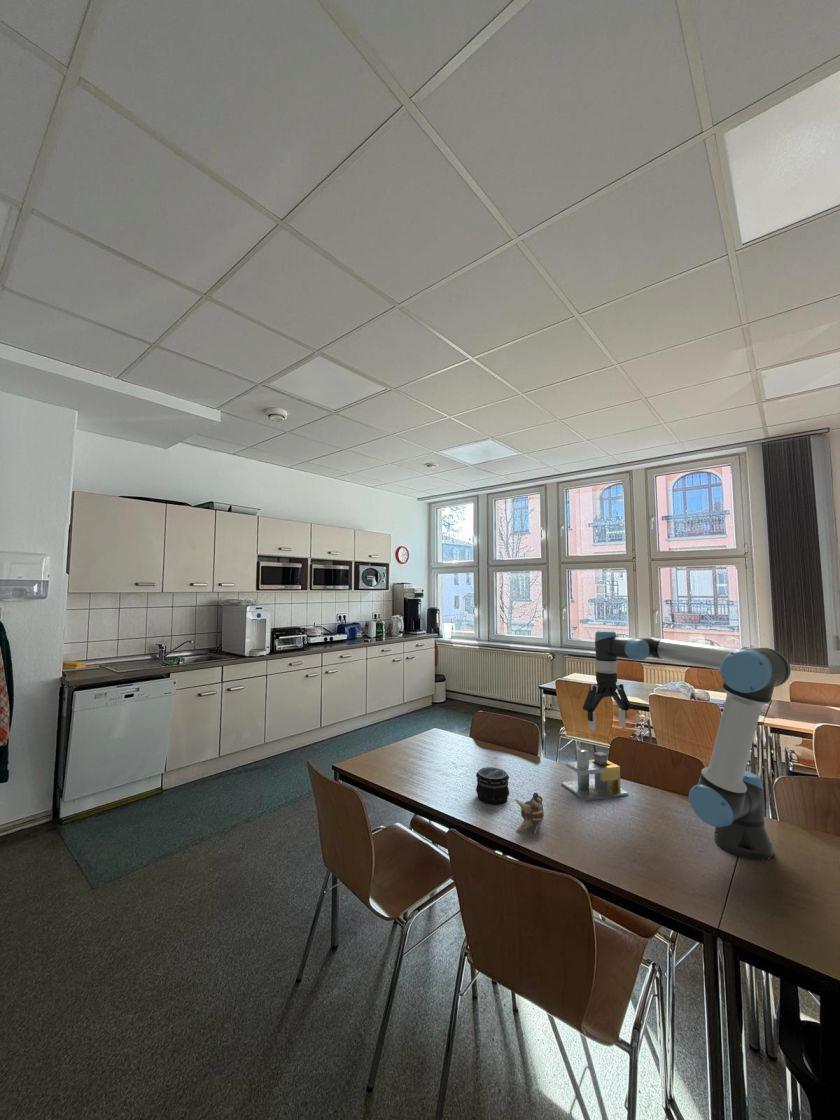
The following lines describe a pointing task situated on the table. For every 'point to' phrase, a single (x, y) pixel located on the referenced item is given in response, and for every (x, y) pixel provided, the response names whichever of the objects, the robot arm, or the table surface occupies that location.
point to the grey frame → (587, 786)
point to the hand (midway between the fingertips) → (607, 728)
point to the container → (492, 786)
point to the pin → (601, 761)
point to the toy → (531, 812)
